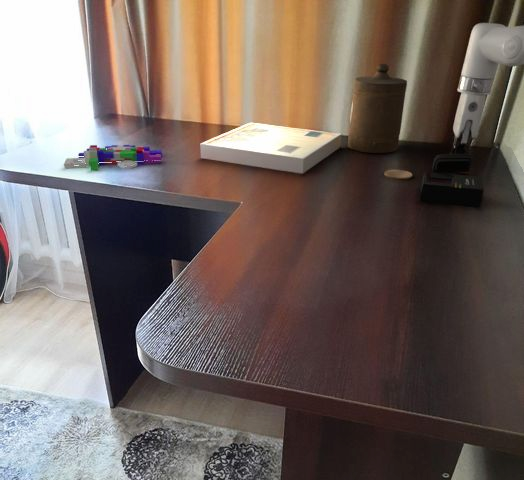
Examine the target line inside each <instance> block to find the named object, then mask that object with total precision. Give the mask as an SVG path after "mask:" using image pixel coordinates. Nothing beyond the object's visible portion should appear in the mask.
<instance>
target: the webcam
mask: <svg viewBox="0 0 524 480" xmlns="http://www.w3.org/2000/svg"><path fill="white" fill-rule="evenodd" d="M472 162H473V158H472V155H471V154H470V153H465V154H450V153H441V154H438V155H436V156H435V157H434V158H433V163H432V167H431V171H432V172H431V174H430V179H433V180H442V181H451V180H452V175H463V176H468V175H469V172H470V170H471V166H472Z"/></svg>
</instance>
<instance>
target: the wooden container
mask: <svg viewBox="0 0 524 480" xmlns="http://www.w3.org/2000/svg"><path fill="white" fill-rule="evenodd" d="M389 70H390V67H389V65H387V63H380V64H379V65H377V66H376V72H375V74H374V75H371V76H370V75H369V76H368V75H367V76H359V77H358V76H357V77H356V78H355V79H354V83H353V85H354V86H353V93H352V94H353V95H352V103H351V109H350V118H349V128H348V129H349V130H348V140H347V147H348V148H350V149H351V150H354V151H356V152H361V153H366V154H387V153H392V152H395V151H397V150H398V148H399V140H400V135H401V129H402V123H403V122H402V121H403V113H404V105H405V99H406V92H407V86H408V80H406V79H403V78H399V77H392V76H390V75H389V73H388V72H389Z"/></svg>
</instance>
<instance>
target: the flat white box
mask: <svg viewBox="0 0 524 480" xmlns="http://www.w3.org/2000/svg"><path fill="white" fill-rule="evenodd" d="M342 137H343V134H342V133H339V132H330V131H322V130H314V129H313V130H312V129H307V128H305V129H304V128H298V127H289V126H281V125H271V124H265V123H256V122H255V123H254V122H249V123H246V124H244V125H241V126H239V127H237V128H235V129H232V130H229V131H228V132H225V133H222V134H220V135H218V136H215V137H212V138H211V139H208V140H206V141H203V142H201V143H199V148H200V158H201V159H204V160H211V161H218V162H224V163H231V164H237V165H243V166H250V167H257V168H262V169H263V168H264V169H268V170H269V169H270V170H275V171H282V172H288V173H295V174H302V175H303V174H305V173H306V172H307V171H309V170H310V169H311V168H313V167H315V166H316V165H317V164H318V163H320V162H322V161H323V160H324V159H326V158H327V157H329V156H330V155H331V154H333V153H334V152H335V151H337V150H339V149H340V148H341V145H342Z"/></svg>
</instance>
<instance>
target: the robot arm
mask: <svg viewBox="0 0 524 480" xmlns="http://www.w3.org/2000/svg"><path fill="white" fill-rule="evenodd" d="M499 64H500V65H503V66H507V67H518V66H523V65H524V25H515V26H506V25H504V24H501V23H494V22H493V23H492V22H479V23H477V24H475V25H474V26H473V27H472V30H471V33H470V36H469V40H468V45H467V48H466V53H465V57H464V61H463V66H462V69H461V72H460V73H461V74H460V77H459V82H458V86H457V92H459V93H461V94H460V96H459V100H458V105H457V109H456V111H455V117H454V122H453V125H452V126H453V127H452V131H453V133H454V139H453V143H452V146H451V149H450V152H449V154H466V149H467V146H468V143H469V139H470V137H471V138H472V140H476V139H477V138H478V134H479V130H480V125H481V121H482V117H483V113H484V108H485V104H486V98H487V96H488V95H490V94H491V92H492V88H493V84H494V81H495V79H496V74H497V70H498V67H499Z"/></svg>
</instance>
